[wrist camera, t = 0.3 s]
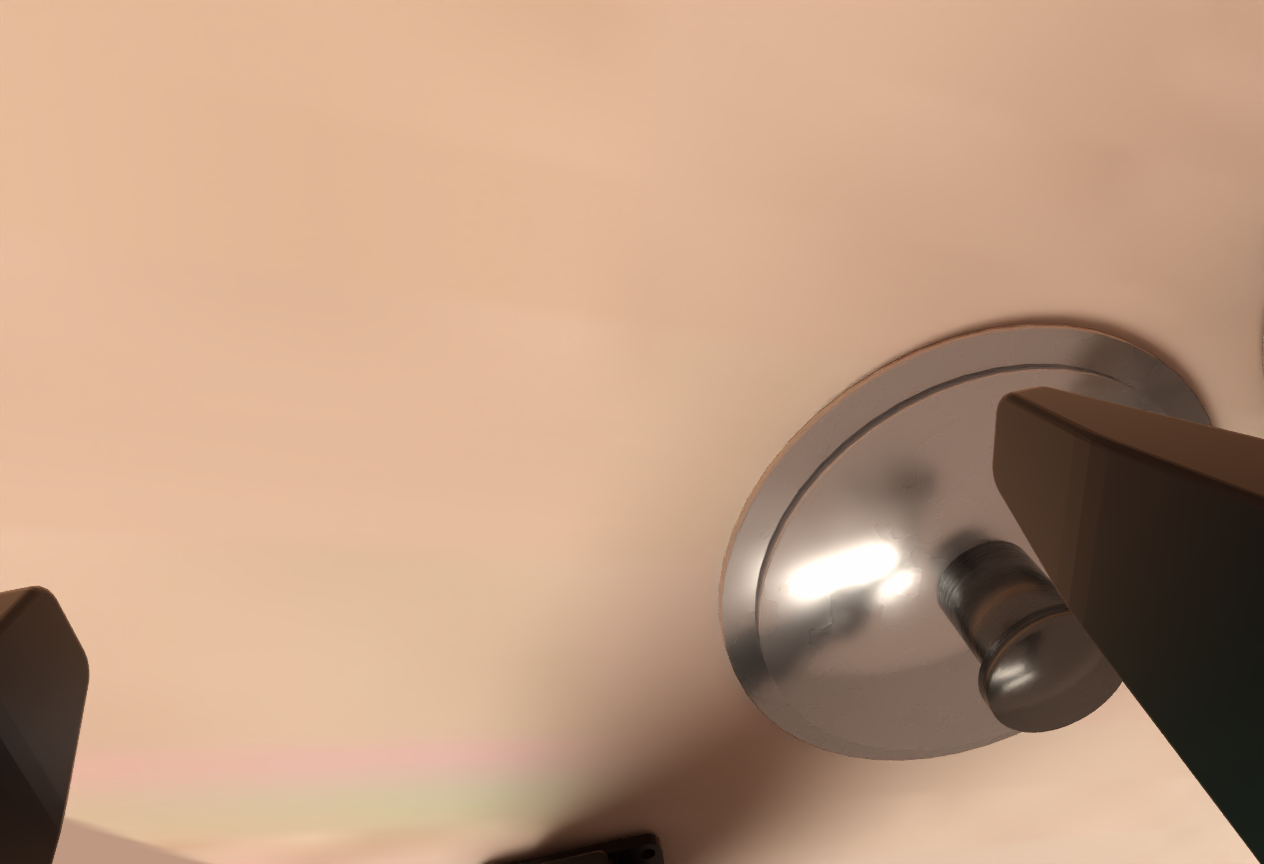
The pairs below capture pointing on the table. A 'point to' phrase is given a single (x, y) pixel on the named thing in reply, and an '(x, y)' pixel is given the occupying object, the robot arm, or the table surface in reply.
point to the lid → (921, 556)
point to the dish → (1263, 354)
